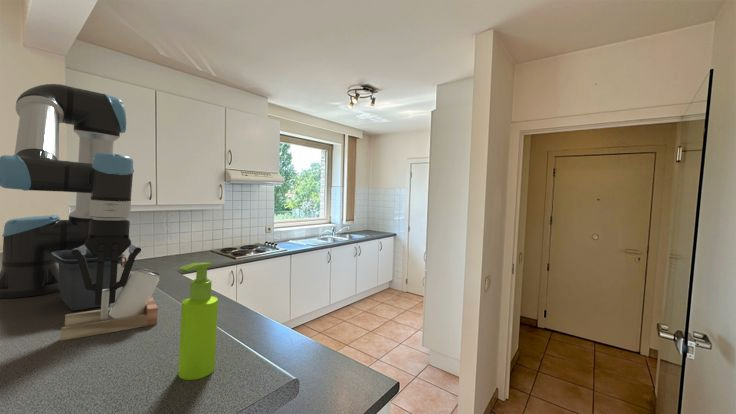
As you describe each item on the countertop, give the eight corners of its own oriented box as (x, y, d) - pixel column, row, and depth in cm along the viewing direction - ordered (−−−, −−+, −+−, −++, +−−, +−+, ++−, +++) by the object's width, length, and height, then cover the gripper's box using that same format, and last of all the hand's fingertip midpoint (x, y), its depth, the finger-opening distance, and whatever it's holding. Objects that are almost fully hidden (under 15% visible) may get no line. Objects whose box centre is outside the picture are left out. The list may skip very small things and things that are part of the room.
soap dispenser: (164, 377, 55) (170, 264, 55) (199, 360, 61) (204, 258, 61) (188, 386, 52) (194, 268, 52) (221, 367, 59) (227, 262, 59)
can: (121, 323, 73) (148, 274, 76) (101, 313, 74) (127, 265, 77) (143, 322, 79) (167, 276, 82) (124, 312, 80) (148, 268, 83)
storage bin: (45, 298, 91) (48, 250, 91) (112, 289, 103) (114, 246, 103) (60, 317, 78) (63, 260, 78) (134, 304, 90) (136, 254, 90)
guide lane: (65, 324, 74) (66, 308, 74) (151, 311, 85) (152, 297, 85) (60, 340, 66) (61, 322, 66) (156, 324, 77) (157, 308, 77)
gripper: (71, 219, 67) (64, 328, 67) (144, 220, 76) (138, 317, 75) (74, 217, 73) (68, 317, 73) (142, 218, 81) (136, 308, 81)
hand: (104, 317), depth 74 cm, fingers closed
